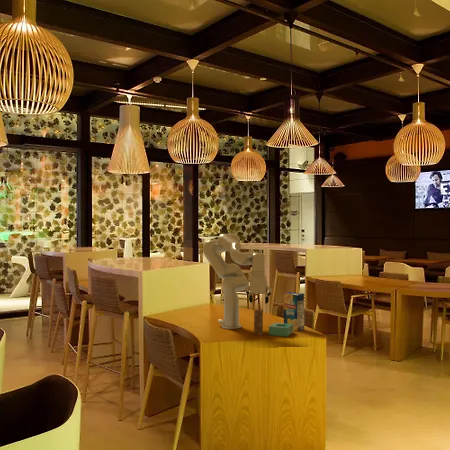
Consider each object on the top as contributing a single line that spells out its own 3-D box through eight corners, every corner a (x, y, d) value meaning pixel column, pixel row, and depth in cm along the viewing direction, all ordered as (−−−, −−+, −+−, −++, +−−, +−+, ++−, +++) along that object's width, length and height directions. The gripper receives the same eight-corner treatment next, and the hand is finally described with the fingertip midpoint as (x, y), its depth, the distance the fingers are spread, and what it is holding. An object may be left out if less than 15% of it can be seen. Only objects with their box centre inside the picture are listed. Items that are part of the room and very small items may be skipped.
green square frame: (268, 334, 305) (268, 326, 305) (274, 330, 316) (274, 322, 316) (287, 336, 301) (287, 328, 301) (292, 332, 311) (292, 324, 311)
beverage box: (297, 331, 314) (297, 295, 314) (283, 328, 322) (283, 293, 322) (304, 329, 319) (304, 293, 318) (291, 326, 327) (290, 291, 326)
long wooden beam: (254, 334, 306) (254, 311, 306) (256, 333, 310) (256, 309, 310) (260, 335, 305) (260, 311, 304) (262, 333, 308) (262, 310, 308)
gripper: (242, 274, 306) (242, 303, 306) (270, 275, 300) (270, 304, 300) (246, 272, 313) (247, 301, 313) (274, 273, 307) (274, 302, 307)
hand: (258, 302), depth 307 cm, fingers open, 9 cm apart
